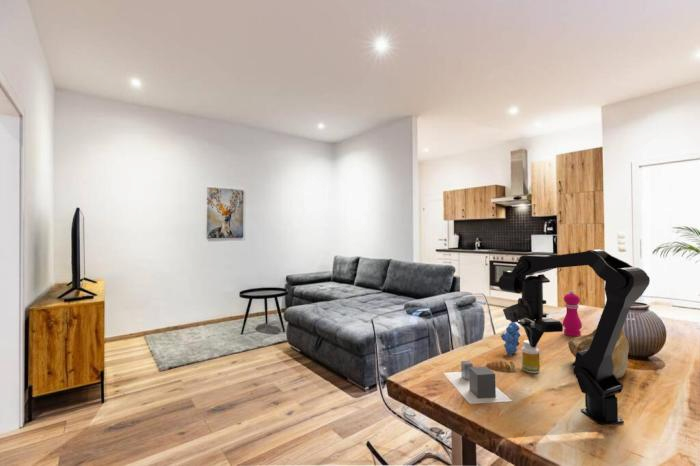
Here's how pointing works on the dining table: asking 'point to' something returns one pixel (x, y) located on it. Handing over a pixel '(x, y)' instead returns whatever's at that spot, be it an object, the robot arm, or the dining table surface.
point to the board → (464, 389)
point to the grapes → (511, 338)
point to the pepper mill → (572, 315)
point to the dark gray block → (482, 382)
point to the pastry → (502, 366)
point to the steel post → (465, 369)
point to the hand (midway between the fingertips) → (533, 346)
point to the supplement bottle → (530, 358)
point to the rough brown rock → (617, 356)
